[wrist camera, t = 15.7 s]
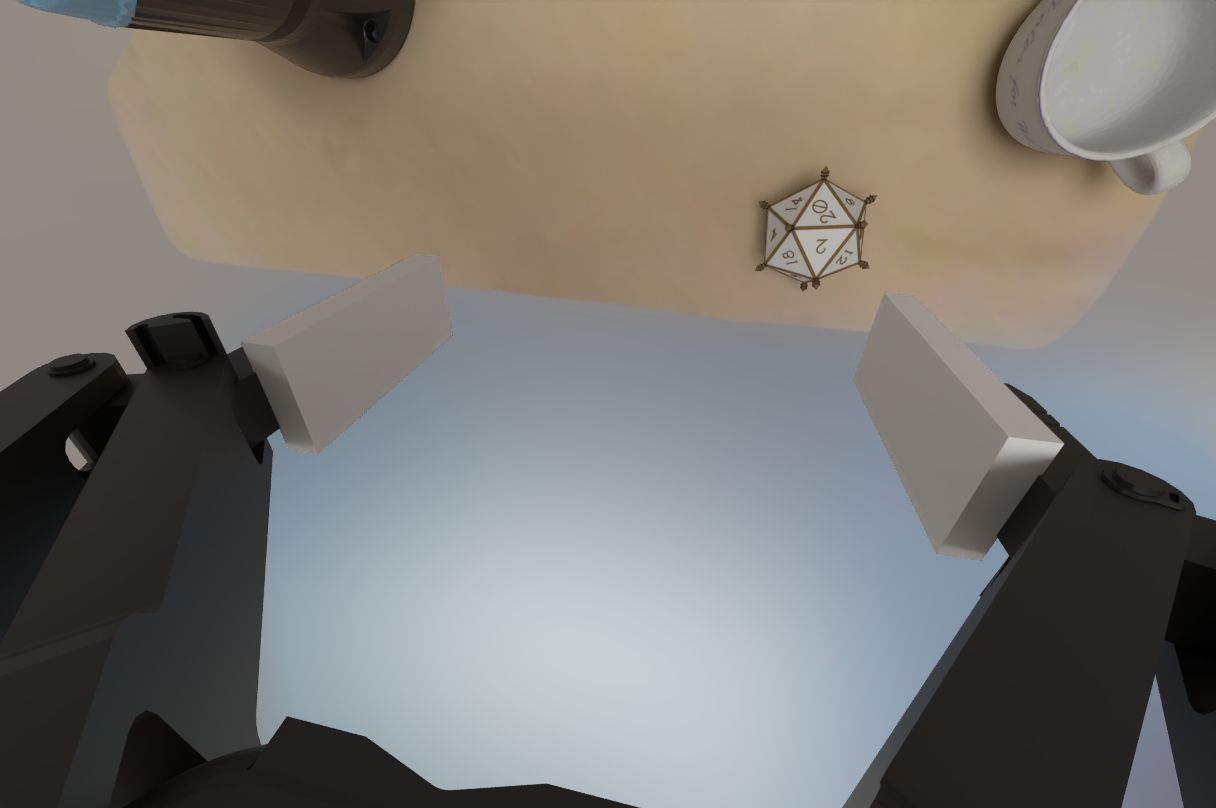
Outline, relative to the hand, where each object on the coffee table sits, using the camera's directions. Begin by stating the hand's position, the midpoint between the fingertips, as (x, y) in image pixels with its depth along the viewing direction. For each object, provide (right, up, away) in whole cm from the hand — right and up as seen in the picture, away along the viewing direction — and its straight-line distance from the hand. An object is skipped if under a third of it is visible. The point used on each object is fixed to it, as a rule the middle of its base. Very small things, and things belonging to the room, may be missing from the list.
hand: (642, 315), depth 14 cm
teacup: (+31, +19, +18) cm, 40 cm away
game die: (+16, +13, +26) cm, 33 cm away
